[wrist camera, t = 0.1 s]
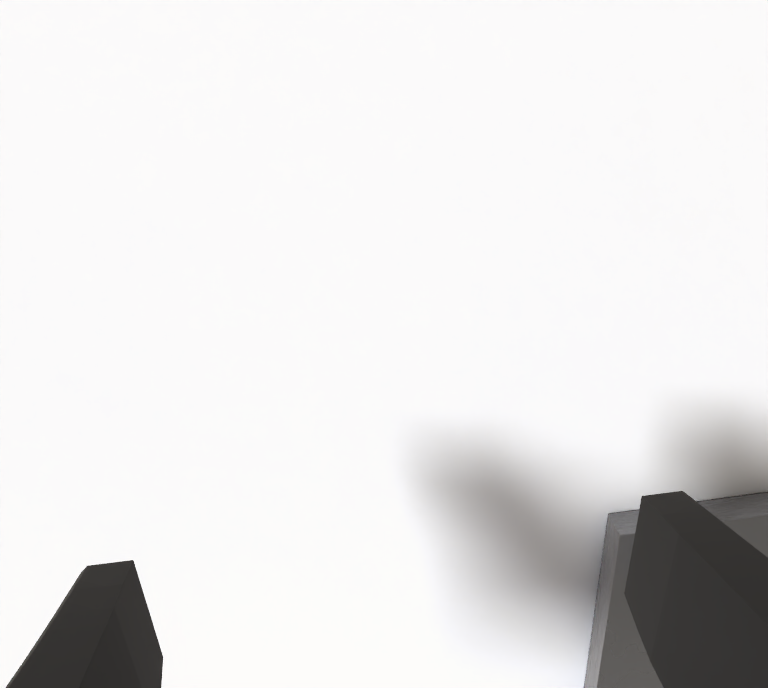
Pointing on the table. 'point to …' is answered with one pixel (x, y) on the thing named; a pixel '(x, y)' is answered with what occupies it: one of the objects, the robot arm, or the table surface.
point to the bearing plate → (612, 613)
